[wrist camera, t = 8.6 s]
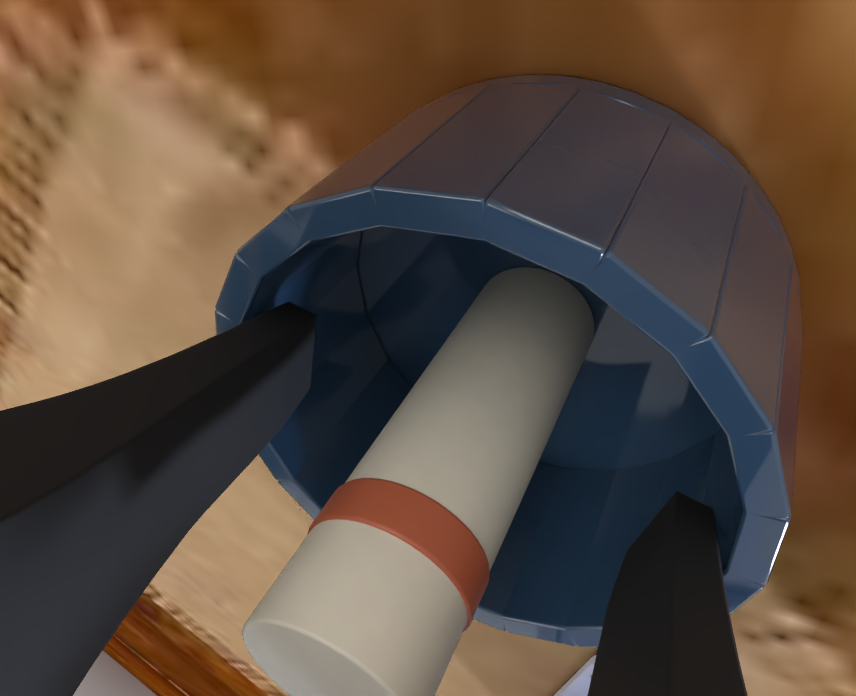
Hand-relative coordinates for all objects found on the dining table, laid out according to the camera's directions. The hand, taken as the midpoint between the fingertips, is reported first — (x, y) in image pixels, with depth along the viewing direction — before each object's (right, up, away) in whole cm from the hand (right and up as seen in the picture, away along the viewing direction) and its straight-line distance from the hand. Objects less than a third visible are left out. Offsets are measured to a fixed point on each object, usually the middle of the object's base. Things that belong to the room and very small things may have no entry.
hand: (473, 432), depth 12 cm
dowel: (+2, +2, +2) cm, 4 cm away
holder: (+2, +2, +3) cm, 4 cm away
